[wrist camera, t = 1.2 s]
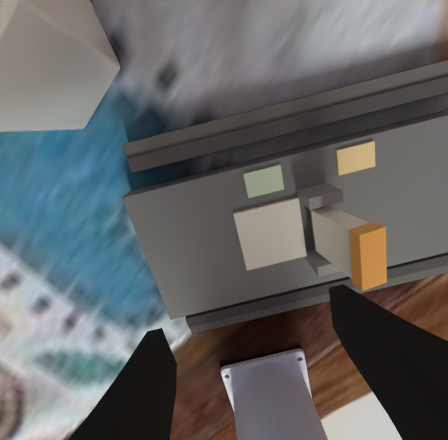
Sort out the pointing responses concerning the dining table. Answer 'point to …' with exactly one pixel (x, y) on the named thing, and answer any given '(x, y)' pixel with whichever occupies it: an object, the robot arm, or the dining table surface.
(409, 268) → the thin grey bar
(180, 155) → the long dark grey rail
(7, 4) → the jar
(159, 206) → the toggle switch panel
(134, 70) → the dining table surface
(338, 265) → the breaker lever
